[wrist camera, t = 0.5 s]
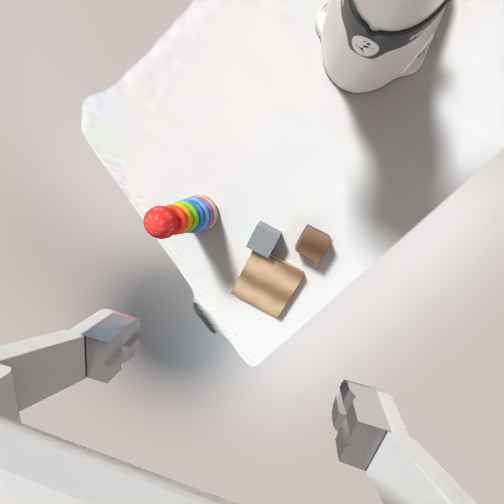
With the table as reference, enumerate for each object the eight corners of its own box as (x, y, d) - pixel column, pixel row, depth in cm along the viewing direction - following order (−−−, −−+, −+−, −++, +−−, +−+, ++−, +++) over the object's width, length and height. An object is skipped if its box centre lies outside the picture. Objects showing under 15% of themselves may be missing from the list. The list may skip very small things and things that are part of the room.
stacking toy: (226, 216, 51) (189, 234, 33) (200, 237, 53) (152, 263, 36) (203, 186, 50) (153, 188, 32) (178, 209, 52) (118, 222, 35)
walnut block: (307, 224, 48) (308, 228, 44) (328, 235, 48) (332, 240, 43) (295, 244, 50) (295, 250, 45) (316, 255, 50) (318, 262, 45)
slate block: (260, 220, 50) (256, 224, 45) (281, 231, 50) (279, 236, 45) (250, 240, 52) (246, 246, 47) (270, 251, 51) (268, 258, 47)
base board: (255, 246, 52) (253, 249, 49) (303, 271, 51) (303, 275, 49) (233, 288, 56) (230, 293, 53) (278, 312, 55) (277, 318, 53)
